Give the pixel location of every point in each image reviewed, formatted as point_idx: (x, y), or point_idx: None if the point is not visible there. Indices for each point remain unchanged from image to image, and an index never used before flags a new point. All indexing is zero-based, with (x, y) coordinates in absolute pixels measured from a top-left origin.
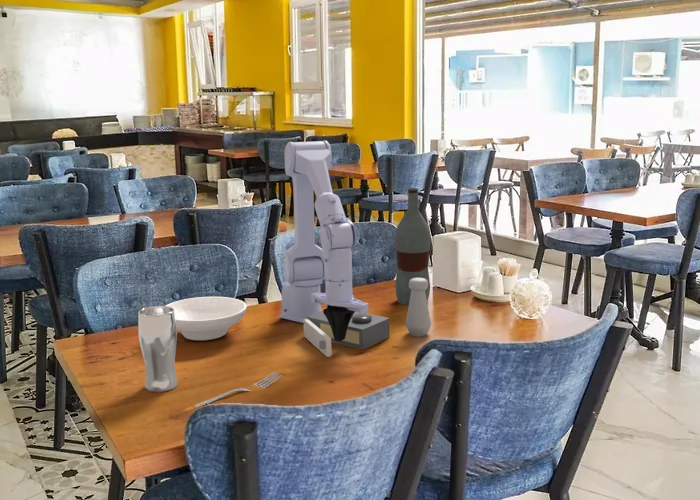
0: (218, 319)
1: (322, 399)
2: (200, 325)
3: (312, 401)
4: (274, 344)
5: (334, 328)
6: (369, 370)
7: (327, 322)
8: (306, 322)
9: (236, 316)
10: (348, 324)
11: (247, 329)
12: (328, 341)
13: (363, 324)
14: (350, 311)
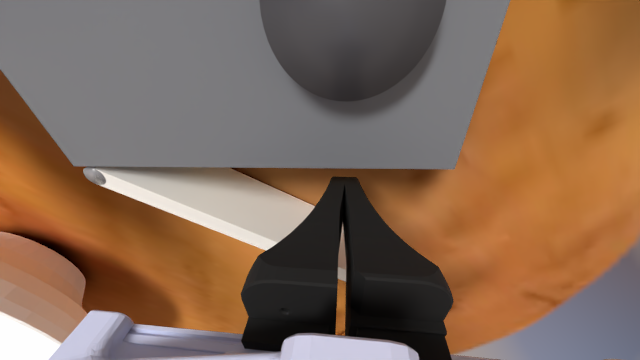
0: None
1: (469, 344)
2: None
3: (456, 349)
4: (174, 228)
5: (338, 252)
6: (518, 244)
7: (206, 164)
8: (142, 199)
9: (53, 325)
10: (378, 214)
11: (3, 186)
12: None
13: (413, 90)
14: (436, 322)
